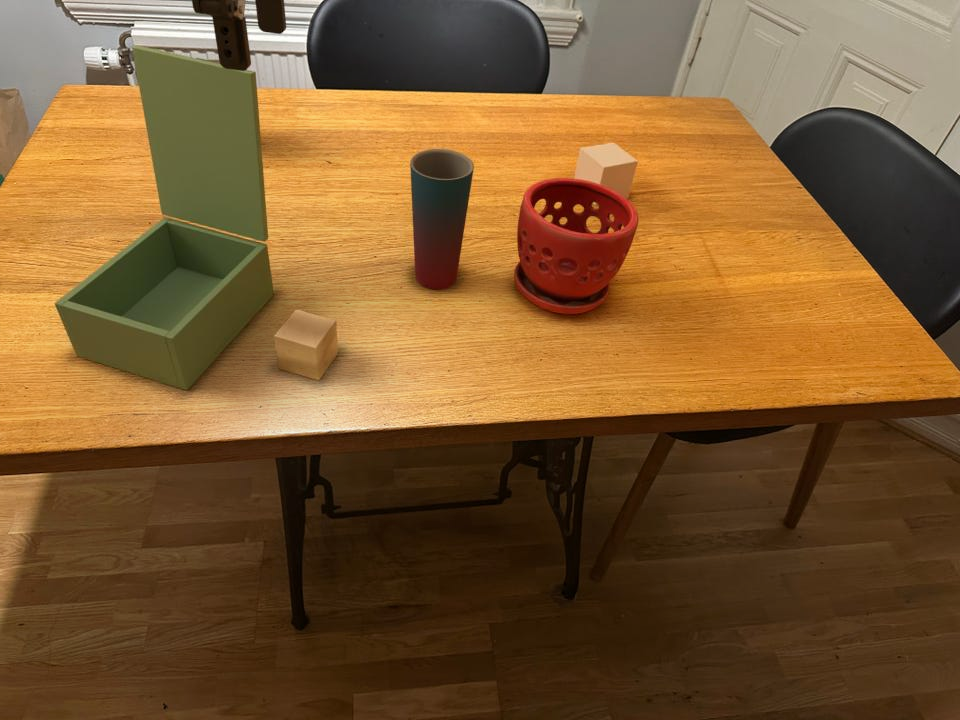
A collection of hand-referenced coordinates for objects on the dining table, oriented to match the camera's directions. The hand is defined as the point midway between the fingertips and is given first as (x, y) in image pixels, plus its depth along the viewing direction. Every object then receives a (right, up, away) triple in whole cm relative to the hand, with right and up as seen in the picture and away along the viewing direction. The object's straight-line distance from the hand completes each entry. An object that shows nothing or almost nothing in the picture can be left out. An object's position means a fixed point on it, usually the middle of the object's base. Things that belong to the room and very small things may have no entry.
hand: (255, 49), depth 56 cm
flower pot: (+28, -17, +29) cm, 44 cm away
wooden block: (0, -25, +16) cm, 30 cm away
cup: (+13, -15, +28) cm, 35 cm away
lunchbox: (-14, -21, +18) cm, 31 cm away
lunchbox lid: (-10, -4, +14) cm, 17 cm away
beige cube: (+36, 0, +47) cm, 60 cm away
